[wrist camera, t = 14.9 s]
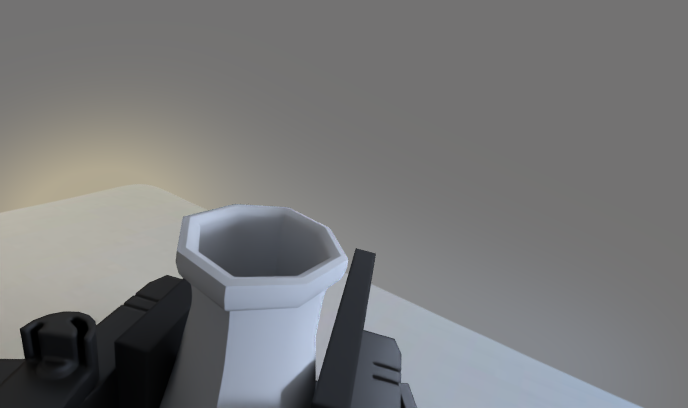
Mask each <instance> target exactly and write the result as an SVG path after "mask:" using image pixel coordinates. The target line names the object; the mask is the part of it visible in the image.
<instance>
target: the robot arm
mask: <svg viewBox="0 0 688 408" xmlns="http://www.w3.org/2000/svg"><path fill="white" fill-rule="evenodd" d="M375 256H376V254H375V253H372V252H368V251H364V250H360V249H357V248H356V250H355V253H354V257H353V260H352V264H351V267H350V271H349V274H348V278H347V281H346V285H345V288H344V292H343V295H342V299H341V302H340V306H339V309H338V313H337V316H336V320H335V323H334V327H333V330H332V334H331V337H330V341H329V344H328V348H327V351H326V355H325V358H324V362H323V365H322V369H321V372H320V376H319V379H318V383H317V386H316V389H315V393H314V396H313V400H312V404H311V408H401V386H400V385H401V352H400V350H399V348H398V346H397V343H396V341H395V339H393V338H389V337H386V336H382V335H379V334H375V333H372V332H368V331H365V330H363V329H364V323H365V317H366V310H367V304H368V298H369V292H370V286H371V280H372V274H373V268H374V262H375ZM191 303H192V288H191V284H190V283H189V282H188V281H187V280H185V279H184V278H183V279H179V278H176V277H172V276H169V275H166V276H164V277H161V278H159V279H157V280H154V281H152V282H149V283H148V284H147V285H146V286H144V287H143V288H142V289H141V290H140V291H138V292H137V293H136V295H135V296H132V297H131V298H130V299H128V300H127V301H126V302H125V303H124V305H121V306H120V307H118V308H117V309H116V310H115V311H113V312H112V313H111V314H110V315H109V316H107V317H106V318H105V319H104V320H102V321H101V322H100V323H99V324H97V325H96V322H95V321H94V320H93V319H92V317H91V316H90V315H87V314H84V313H81V312H59V313H54V314H49V315H46V316H43V317H41V318H38V319H35V320H33V321H31V322H30V323H28V324H27V325H25V326H24V327H22V328H20V333H21V338H22V344H23V350H24V356H25V359H0V408H159V407H160V404H161V401H162V399H163V396H164V393H165V390H166V387H167V384H168V381H169V378H170V375H171V372H172V369H173V367H174V364H175V361H176V356H177V353H178V349H179V346H180V343H181V339H182V336H183V332H184V329H185V325H186V322H187V318H188V315H189V311H190V308H191Z"/></svg>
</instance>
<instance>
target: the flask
mask: <svg viewBox="0 0 688 408" xmlns="http://www.w3.org/2000/svg"><path fill="white" fill-rule="evenodd" d="M347 264H348V258H347V256H346V255H345V253H344V251H343V249H342V248H341V246H340V244H339V243H338V241H337V239H336V237H335V236H334V234H333V232H332V231H331V229H330V228H329V227H327V226H325V225H323V224H321V223H319V222H317V221H315V220H313V219H311V218H309V217H307V216H305V215H303V214H301V213H299V212H297V211H295V210H293V209H291V208H289V207H275V206H258V205H242V204H232V205H228V206H224V207H221V208H217V209H212V210H208V211H204V212H200V213H196V214H192V215H188V216H184V217H183V219H182V225H181V230H180V236H179V242H178V247H177V254H176V265H177V269H178V272H179V274H180V275H181V276H182V277H183V278H184V279H185V280H187V281H188V282H189V283H190V284H191V288H192V303H191V308H190V311H189V315H188V318H187V322H186V325H185V329H184V332H183V336H182V339H181V343H180V346H179V349H178V353H177V356H176V361H175V364H174V367H173V369H172V372H171V375H170V378H169V381H168V384H167V387H166V390H165V393H164V396H163V399H162V401H161V404H160V407H159V408H311V404H312V400H313V396H314V393H315V389H316V369H315V336H316V331H317V326H318V322H319V317H320V312H321V307H322V302H323V297H324V294H325V292H326V289H327V288H328V287H330V286H331V285H333V284H334V283H336V282H337V281H339V280H340V279H341V278H342V276H343V274H344V273H345V271H346V269H347Z"/></svg>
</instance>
